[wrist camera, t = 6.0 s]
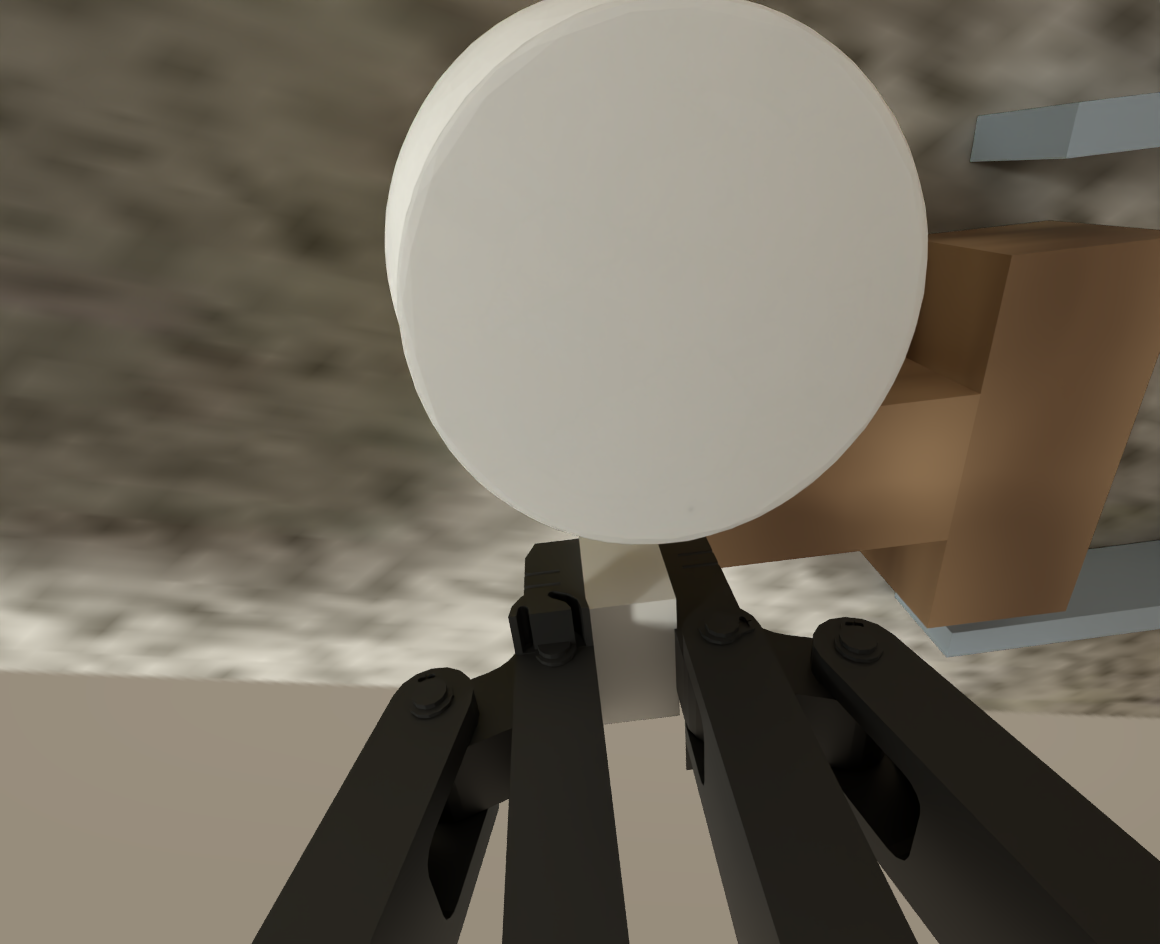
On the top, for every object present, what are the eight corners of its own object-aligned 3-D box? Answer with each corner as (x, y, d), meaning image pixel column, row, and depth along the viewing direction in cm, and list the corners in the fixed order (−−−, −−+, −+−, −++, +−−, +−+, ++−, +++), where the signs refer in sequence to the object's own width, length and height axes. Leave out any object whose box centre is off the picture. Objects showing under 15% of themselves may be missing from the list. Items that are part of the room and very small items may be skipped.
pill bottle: (635, 381, 17) (776, 669, 7) (425, 296, 15) (231, 508, 6) (744, 157, 14) (1193, 114, 5) (507, 31, 13) (419, -424, 3)
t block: (626, 576, 20) (646, 663, 16) (603, 271, 15) (624, 299, 12) (971, 534, 20) (1065, 611, 17) (1050, 220, 16) (1202, 233, 12)
